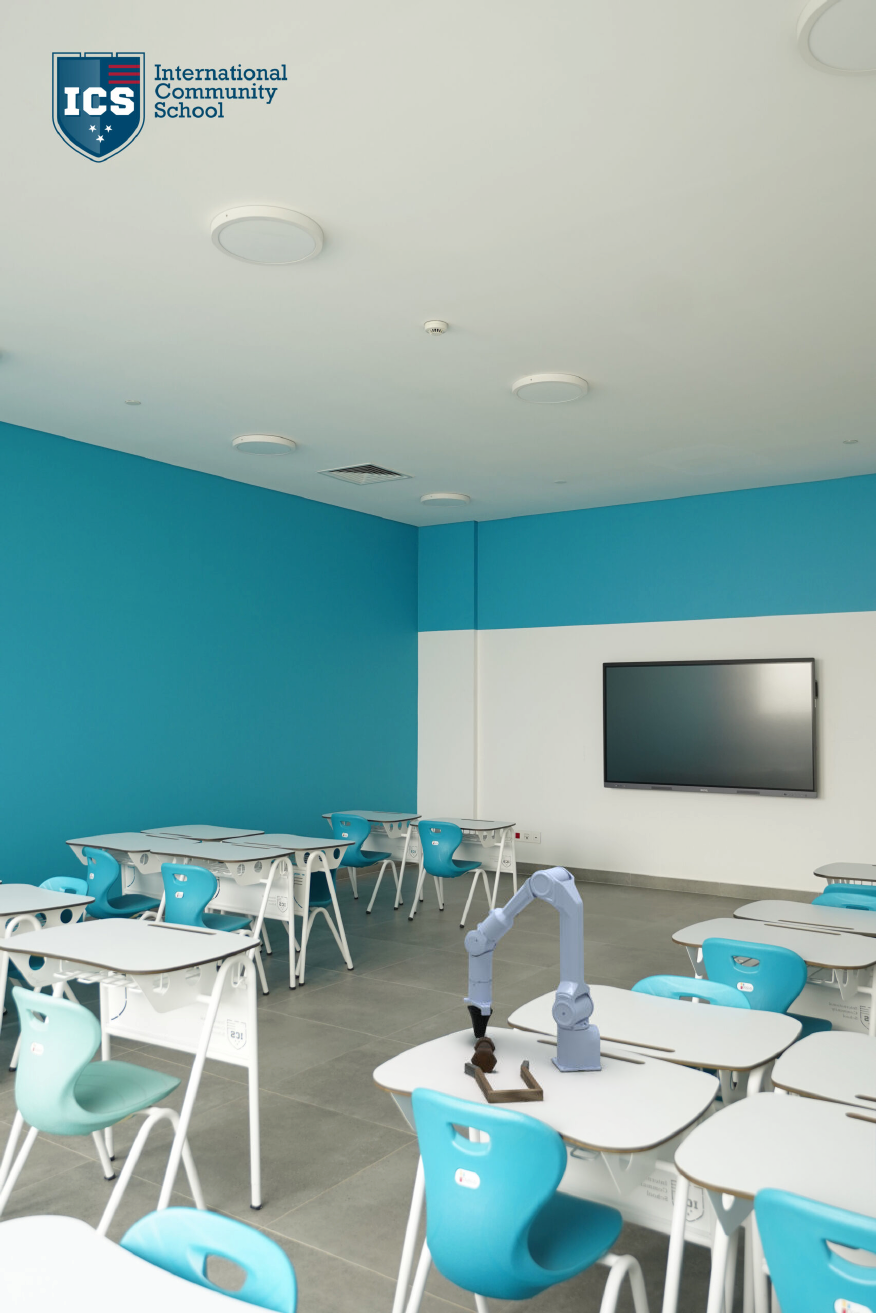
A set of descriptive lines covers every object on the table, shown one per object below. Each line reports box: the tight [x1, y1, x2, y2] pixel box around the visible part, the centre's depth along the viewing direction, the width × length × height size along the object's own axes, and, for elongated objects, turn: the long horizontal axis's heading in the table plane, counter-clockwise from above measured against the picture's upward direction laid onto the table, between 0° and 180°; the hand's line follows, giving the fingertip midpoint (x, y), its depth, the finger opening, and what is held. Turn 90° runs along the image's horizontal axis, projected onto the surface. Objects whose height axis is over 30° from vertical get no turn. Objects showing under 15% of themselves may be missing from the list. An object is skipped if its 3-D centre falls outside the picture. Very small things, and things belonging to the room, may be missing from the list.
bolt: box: [470, 1036, 498, 1074], centre depth 218 cm, size 6×5×15 cm
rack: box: [464, 1059, 544, 1104], centre depth 203 cm, size 15×18×2 cm
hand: (479, 1037), depth 230 cm, fingers closed
